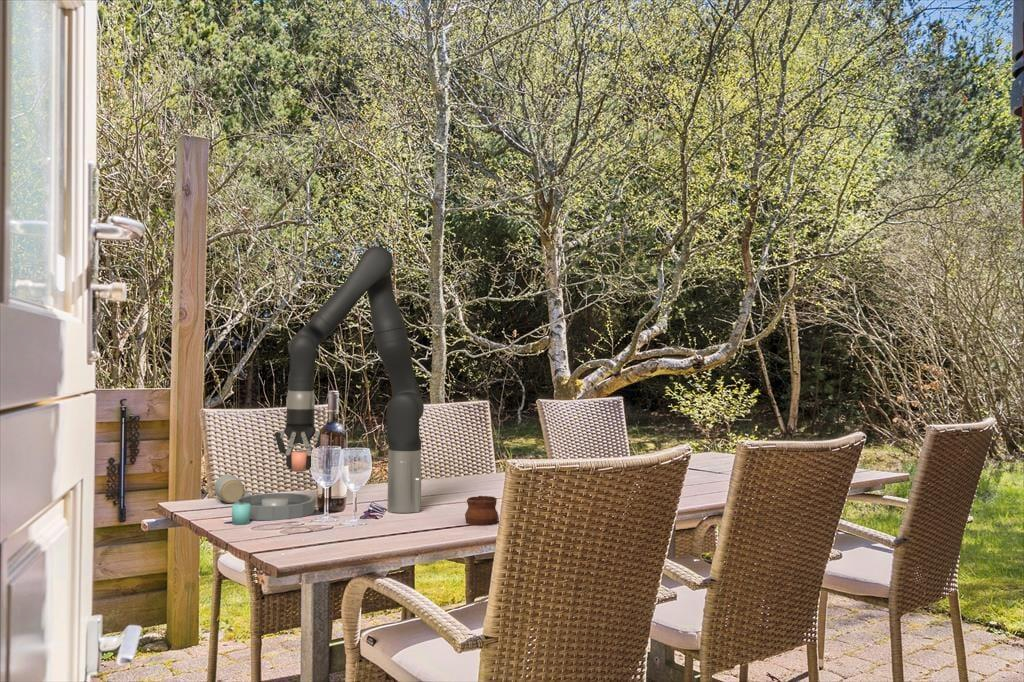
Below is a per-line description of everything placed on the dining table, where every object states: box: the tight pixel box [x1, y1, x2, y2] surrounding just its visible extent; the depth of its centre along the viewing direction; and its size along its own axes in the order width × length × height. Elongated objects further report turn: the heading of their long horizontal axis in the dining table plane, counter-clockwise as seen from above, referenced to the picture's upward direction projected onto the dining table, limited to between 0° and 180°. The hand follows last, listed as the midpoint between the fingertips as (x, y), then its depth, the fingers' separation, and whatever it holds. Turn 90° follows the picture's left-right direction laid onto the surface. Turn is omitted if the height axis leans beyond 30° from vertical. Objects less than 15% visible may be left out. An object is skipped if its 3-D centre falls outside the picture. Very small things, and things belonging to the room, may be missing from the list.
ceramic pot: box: [464, 495, 499, 531], centre depth 229 cm, size 18×18×7 cm
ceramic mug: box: [213, 473, 253, 504], centre depth 253 cm, size 11×8×8 cm
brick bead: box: [290, 450, 308, 472], centre depth 239 cm, size 4×4×5 cm
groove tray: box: [233, 492, 316, 521], centre depth 238 cm, size 21×21×4 cm
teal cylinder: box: [231, 503, 251, 526], centre depth 223 cm, size 4×4×5 cm
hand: (299, 468), depth 239 cm, fingers closed on brick bead, 4 cm apart
